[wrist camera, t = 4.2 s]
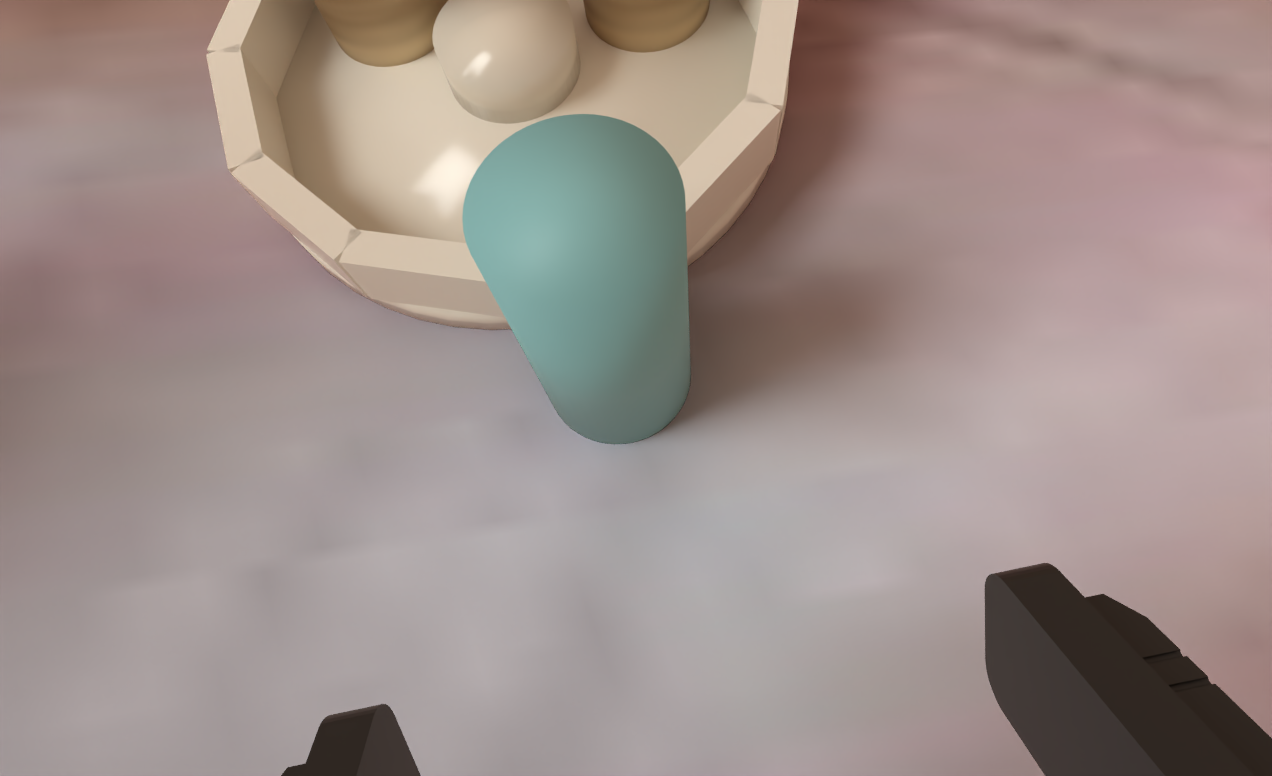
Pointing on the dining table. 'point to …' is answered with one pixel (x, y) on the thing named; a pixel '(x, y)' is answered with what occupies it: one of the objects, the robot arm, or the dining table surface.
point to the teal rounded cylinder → (589, 268)
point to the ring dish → (477, 128)
